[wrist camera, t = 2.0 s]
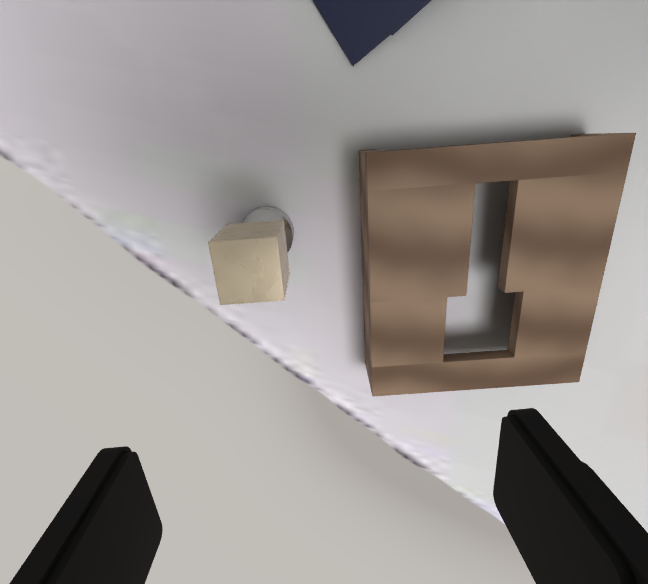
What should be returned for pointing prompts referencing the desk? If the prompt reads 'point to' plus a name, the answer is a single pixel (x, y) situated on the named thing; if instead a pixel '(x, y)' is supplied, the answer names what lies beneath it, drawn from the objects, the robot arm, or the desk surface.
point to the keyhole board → (516, 260)
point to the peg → (253, 257)
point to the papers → (366, 22)
